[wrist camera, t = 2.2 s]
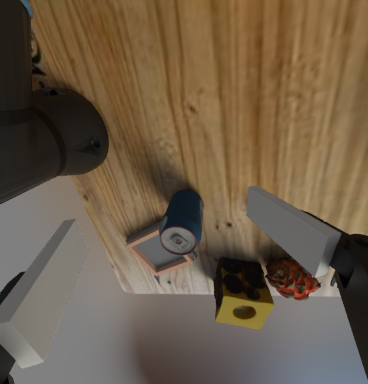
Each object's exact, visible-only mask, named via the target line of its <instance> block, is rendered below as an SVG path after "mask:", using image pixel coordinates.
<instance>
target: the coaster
mask: <svg viewBox="0 0 368 384" xmlns="http://www.w3.org/2000/svg"><path fill="white" fill-rule="evenodd" d="M161 222H162V220H161V221H159V222H157V223H155V224H153V225H151V226H149V227H147V228H145V229H143V230H142V231H140V232H138V233H136V234H134V235H132V236H130V237H128V238H127V239H126V242H127V244H126V247H127V248H128V249H129V250H130V251H131V252H132V253H133V254H134V255H135V256H136V257H137V258H138V259H139V260H140V261H141V262H142V263H143V264H144V265H145V266H146V267H147V268H148V269H149V270H150V271H151V272H152V273H153V274H154V275H155V276H158V275H161V274H164V273H166V272H169V271H172V270H175V269H178V268H180V267H183V266H186V265H189V264H191V263H194V259H197V254H196V252H195V251H193V252H192V253H190V254H187V255H174V254H171V253H169V252H168V251H166V250H165V249H164V248H163V247H162V245H161V243H160V235H159V228H160V225H161Z"/></svg>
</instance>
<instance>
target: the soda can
mask: <svg viewBox="0 0 368 384" xmlns="http://www.w3.org/2000/svg"><path fill="white" fill-rule="evenodd" d="M203 208H204V204H203V201H202V199H201V197H200V196H199V195H198V194H197V193H195V192H193V191H189V190H182V191H179V192H177V193H176V194H174V195H173V197H172V198H171V201H170V203H169V206H168V208H167V210H166V213H165V215H164V218H163V220H162V222H161V225H160V228H159V235H160V243H161V245H162V247H163V248H164V249H165V250H166V251H168V252H169V253H171V254H174V255H187V254H190V253H192V252H193V251H194V250H195V248H196V246H197V245H198V244H199V242H200V240H201V235H202V221H203Z"/></svg>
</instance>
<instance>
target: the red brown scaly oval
mask: <svg viewBox="0 0 368 384" xmlns="http://www.w3.org/2000/svg"><path fill="white" fill-rule="evenodd" d="M265 267H266V269H267V275H266V276H265V278H267V279H268V281H269V283H270V284H271V286H273V287H274V288H276V289H277V291H278V292H279V293H280V294H281V295H283V296H284V297H286V298H289V297H291V298H294V299H296V300H306V299H308V295H309V294H310V293H312V292H315V291H316V290H317V289H319V288H320V287H321V285H320V284H321V283H319V282H318V280H317V279H316V278H315V277H313V278H312V277H311V276H312V275H311V274H310V273H309V272H308V271H307V270H306V269H305V268H304V267H303V266H299V263H298V262H297V261H296V260H295V259H294V258H289V259H287V260H285V259H276V260H275V261H274V263H268V264H267V265H266V266H265Z"/></svg>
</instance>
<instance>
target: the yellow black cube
mask: <svg viewBox="0 0 368 384" xmlns="http://www.w3.org/2000/svg"><path fill="white" fill-rule="evenodd" d="M216 275H217V276H216V278H215V279H214V296H215V299H216V315H215V321H216V322H220V323H226V324H233V325H238V326H243V327H249V328H255V329H261V327H262V325H263V324H264V322H265V320H266V318H267V316H268V315H269V313H270V312H271V310H272V308H273V306H274V303H273V299H272V296H271V293H270V290H269V288H268V286H267V284H266V281H265V278H264V272H263V270H262V267H261V264H259V263H253V262H247V261H242V260H236V259H229V258H224V257H222V258H220V260H219V264H218V266H217V270H216Z"/></svg>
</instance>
